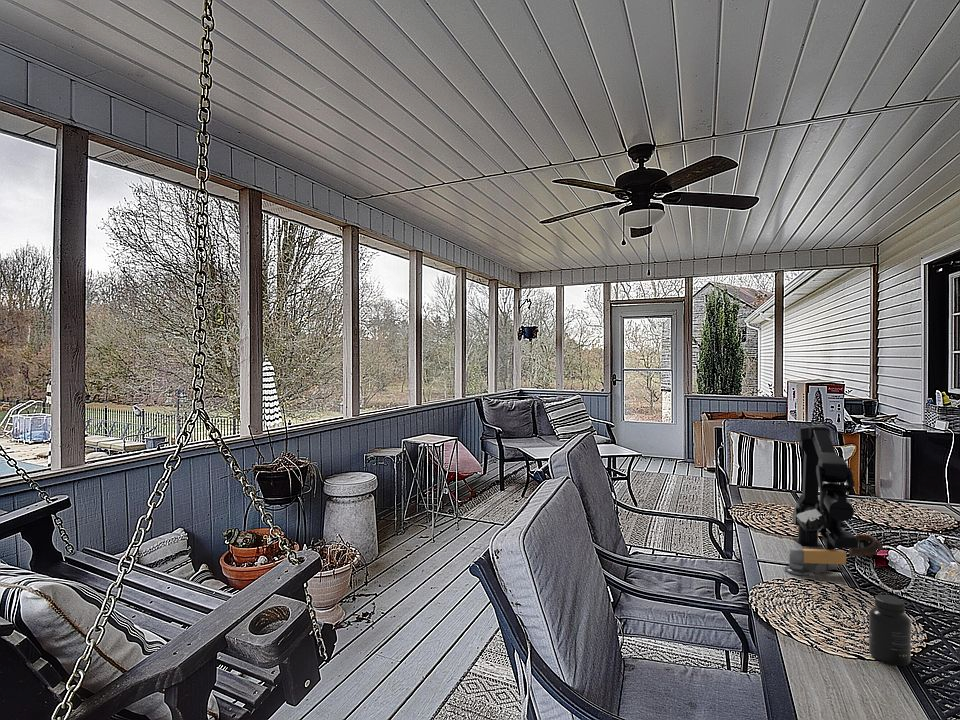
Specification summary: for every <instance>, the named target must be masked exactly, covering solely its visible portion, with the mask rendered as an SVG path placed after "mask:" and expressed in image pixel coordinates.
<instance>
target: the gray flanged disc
mask: <svg viewBox="0 0 960 720" xmlns="http://www.w3.org/2000/svg"><path fill="white" fill-rule="evenodd" d="M788 564H789V565H785V566H784V571H785V572H786V573H788V574H790V575H793V576H798V577H799V576H801V577H806V576H808V575H809V574H810V571H808V570H807V569H805V568H804V563H803V564H796V563H792V562H790V561H789V563H788Z"/></svg>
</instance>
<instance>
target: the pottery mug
mask: <svg viewBox="0 0 960 720" xmlns="http://www.w3.org/2000/svg"><path fill="white" fill-rule="evenodd" d="M854 536H855V537H856V538H857V539H858V540H859V547H858V548H848V555H849V557H850V558H851V559H854V557H863V558H864V557H869V556H873V555H877V552H876V550H877V549H878V550H883V551H884V546H883V544H882V543H881V542H880V541H879V540H877V539H876V538H875V536H872V535H869V534H864V533H863V534H861V533H860V534H856V535H854Z"/></svg>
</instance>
